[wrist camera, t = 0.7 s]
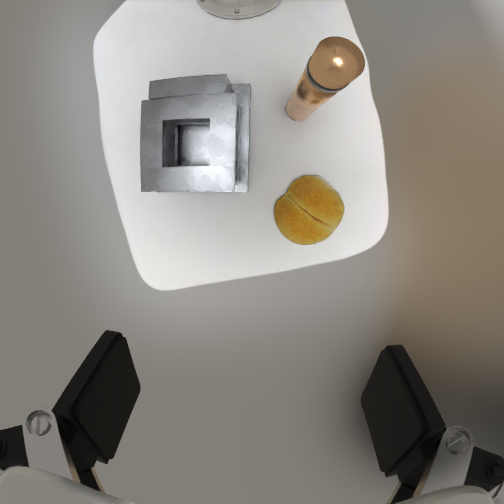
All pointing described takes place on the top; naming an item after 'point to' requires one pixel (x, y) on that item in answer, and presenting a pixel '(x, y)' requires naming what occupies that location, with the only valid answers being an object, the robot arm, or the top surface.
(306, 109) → the brown rod
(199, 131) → the collar stand
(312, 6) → the top surface
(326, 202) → the bread roll
